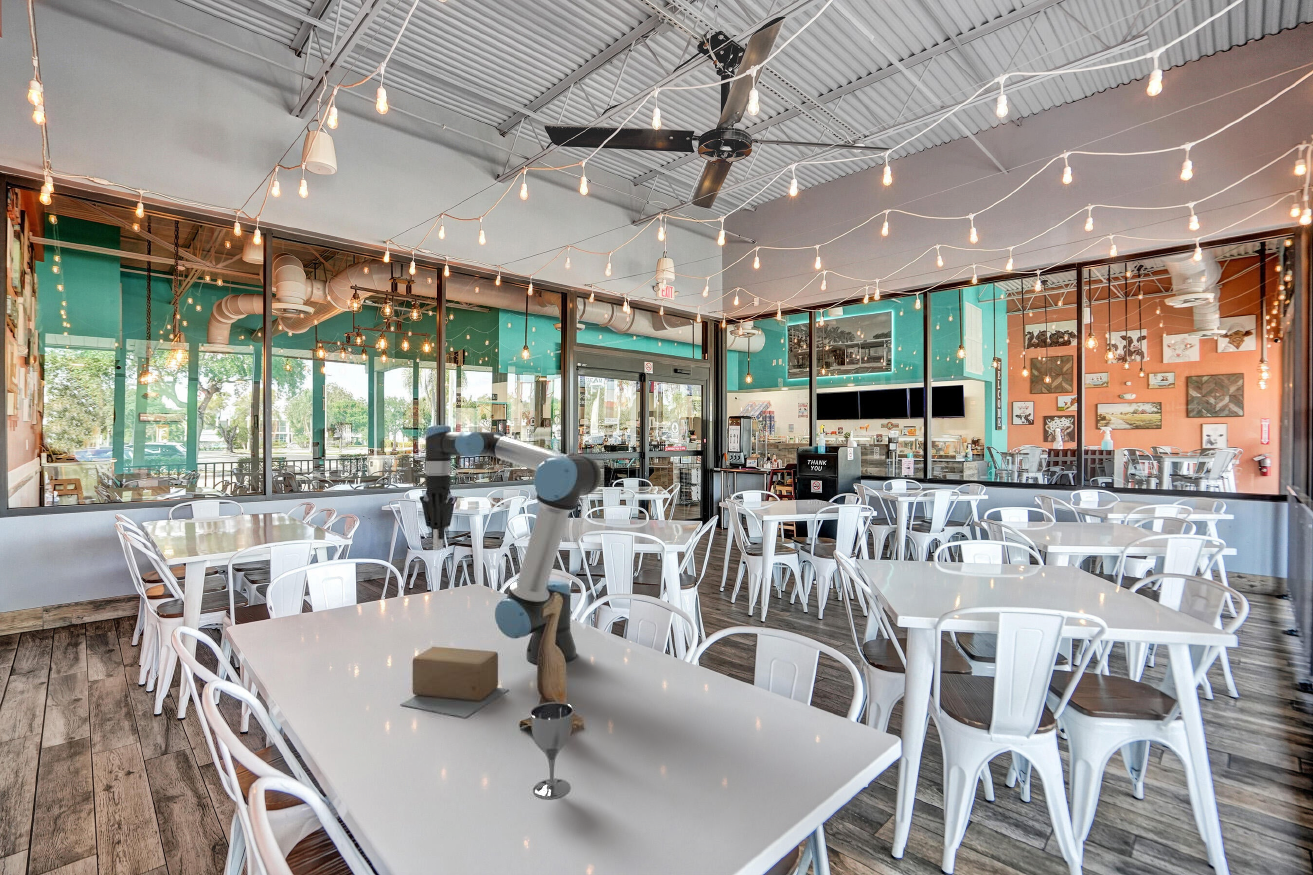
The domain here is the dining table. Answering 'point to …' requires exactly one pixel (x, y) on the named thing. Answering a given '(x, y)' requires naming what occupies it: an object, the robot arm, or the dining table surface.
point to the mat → (452, 703)
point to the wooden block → (455, 673)
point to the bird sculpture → (552, 663)
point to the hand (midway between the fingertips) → (438, 549)
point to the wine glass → (551, 743)
